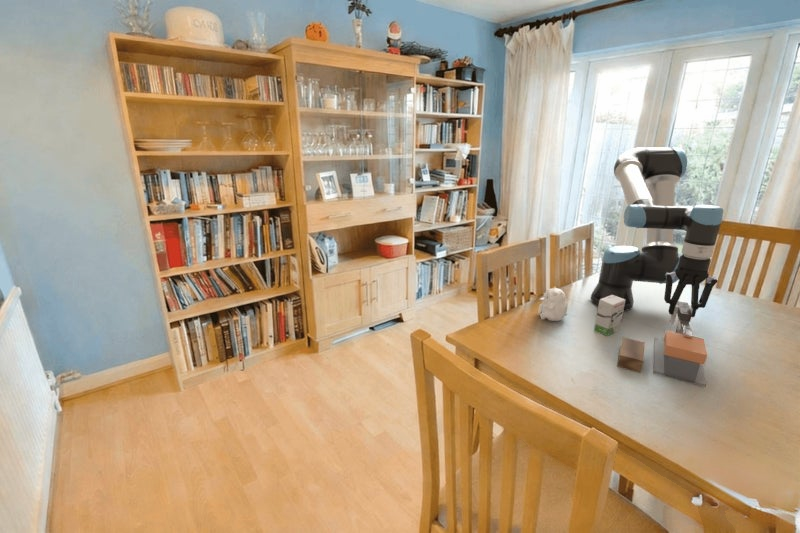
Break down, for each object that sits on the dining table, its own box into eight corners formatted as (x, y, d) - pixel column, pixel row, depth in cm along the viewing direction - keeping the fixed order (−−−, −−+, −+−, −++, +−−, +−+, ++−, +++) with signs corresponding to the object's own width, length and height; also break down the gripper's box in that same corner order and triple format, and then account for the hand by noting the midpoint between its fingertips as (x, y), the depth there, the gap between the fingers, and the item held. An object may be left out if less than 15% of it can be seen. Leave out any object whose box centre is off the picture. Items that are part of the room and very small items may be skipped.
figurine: (562, 313, 144) (566, 284, 140) (570, 325, 135) (575, 294, 131) (535, 312, 145) (538, 283, 141) (542, 324, 136) (545, 293, 132)
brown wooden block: (616, 366, 110) (619, 354, 109) (620, 348, 120) (622, 337, 119) (640, 372, 107) (643, 360, 106) (642, 353, 117) (644, 342, 115)
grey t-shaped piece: (675, 360, 111) (684, 326, 107) (669, 331, 127) (677, 301, 124) (687, 362, 110) (696, 328, 106) (679, 333, 126) (687, 302, 122)
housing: (653, 372, 107) (657, 354, 105) (654, 338, 126) (658, 322, 124) (705, 387, 101) (711, 368, 99) (698, 348, 119) (703, 331, 117)
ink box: (607, 336, 127) (613, 304, 123) (592, 330, 131) (598, 299, 127) (620, 329, 131) (626, 298, 127) (606, 323, 135) (612, 293, 131)
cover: (664, 354, 105) (666, 345, 104) (663, 339, 113) (666, 330, 112) (704, 364, 101) (707, 355, 100) (701, 347, 108) (703, 338, 108)
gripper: (667, 256, 115) (651, 324, 123) (733, 262, 109) (712, 333, 117) (662, 250, 122) (647, 315, 129) (724, 255, 115) (705, 323, 123)
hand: (678, 324), depth 123 cm, fingers closed on grey t-shaped piece, 3 cm apart
